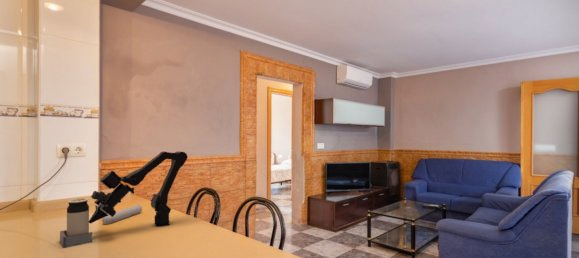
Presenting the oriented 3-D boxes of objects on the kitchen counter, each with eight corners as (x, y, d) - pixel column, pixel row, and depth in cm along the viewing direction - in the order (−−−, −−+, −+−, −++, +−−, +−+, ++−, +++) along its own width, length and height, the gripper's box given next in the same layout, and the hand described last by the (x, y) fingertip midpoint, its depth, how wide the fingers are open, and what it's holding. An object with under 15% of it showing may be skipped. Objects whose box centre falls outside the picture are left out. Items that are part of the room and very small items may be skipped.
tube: (109, 218, 157) (143, 206, 181) (101, 214, 158) (136, 203, 183) (106, 227, 157) (140, 214, 182) (98, 223, 159) (133, 211, 183)
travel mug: (93, 239, 136) (93, 198, 137) (75, 245, 129) (75, 202, 129) (80, 237, 139) (80, 197, 139) (62, 243, 131) (62, 201, 132)
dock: (87, 235, 142) (87, 226, 142) (92, 242, 132) (92, 232, 132) (59, 240, 135) (59, 231, 135) (62, 248, 125) (62, 238, 126)
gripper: (99, 182, 148) (71, 208, 140) (108, 186, 134) (77, 216, 126) (117, 196, 153) (91, 222, 145) (127, 202, 139) (98, 231, 131)
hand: (89, 222), depth 137 cm, fingers closed, pressing on travel mug
